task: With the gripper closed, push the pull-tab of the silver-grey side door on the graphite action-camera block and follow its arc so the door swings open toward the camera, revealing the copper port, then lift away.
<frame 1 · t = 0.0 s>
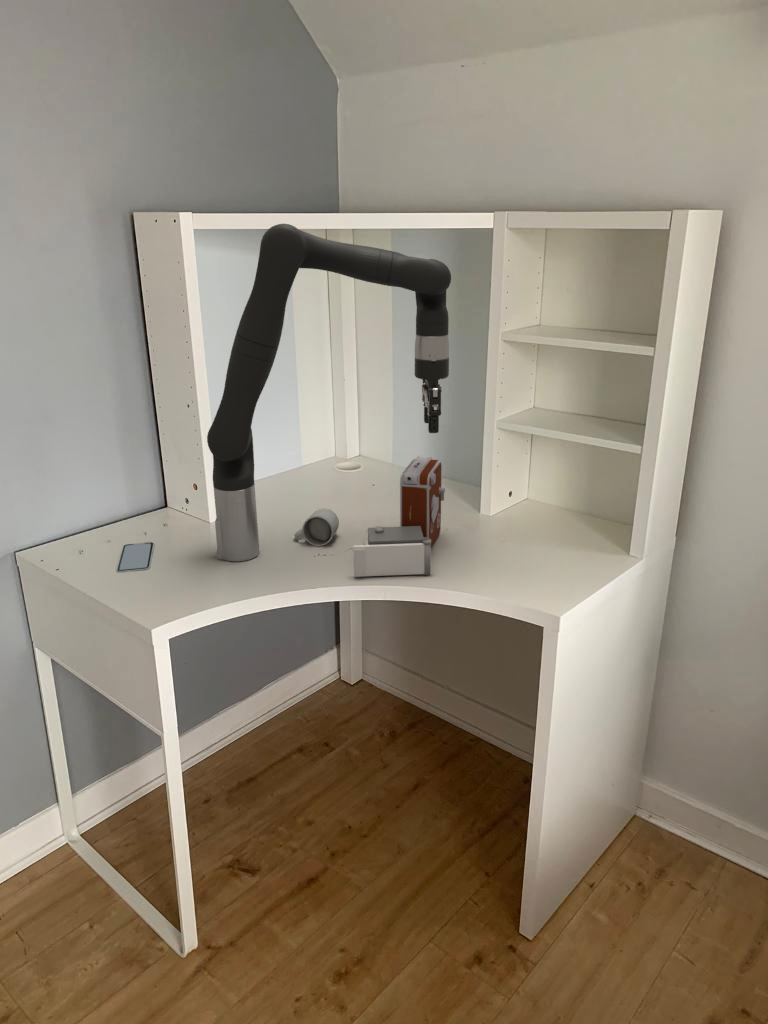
hand: (431, 427, 179), 29 cm above the table, fingers open, 8 cm apart
side door: (392, 559, 173), point 4 cm above the table, hinge at 0.0°
ceramic mug: (316, 541, 194), on the table
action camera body: (395, 566, 179), on the table
smartphone: (136, 560, 185), on the table
cine camera: (423, 540, 194), on the table
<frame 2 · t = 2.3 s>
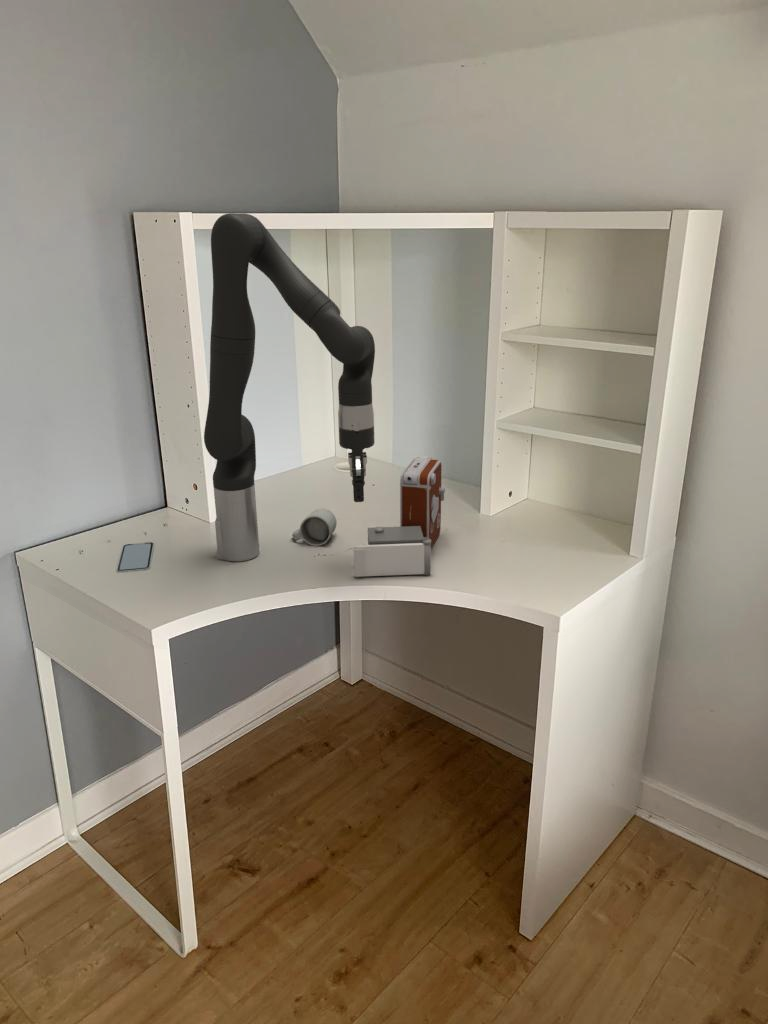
hand: (358, 500, 173), 16 cm above the table, fingers closed
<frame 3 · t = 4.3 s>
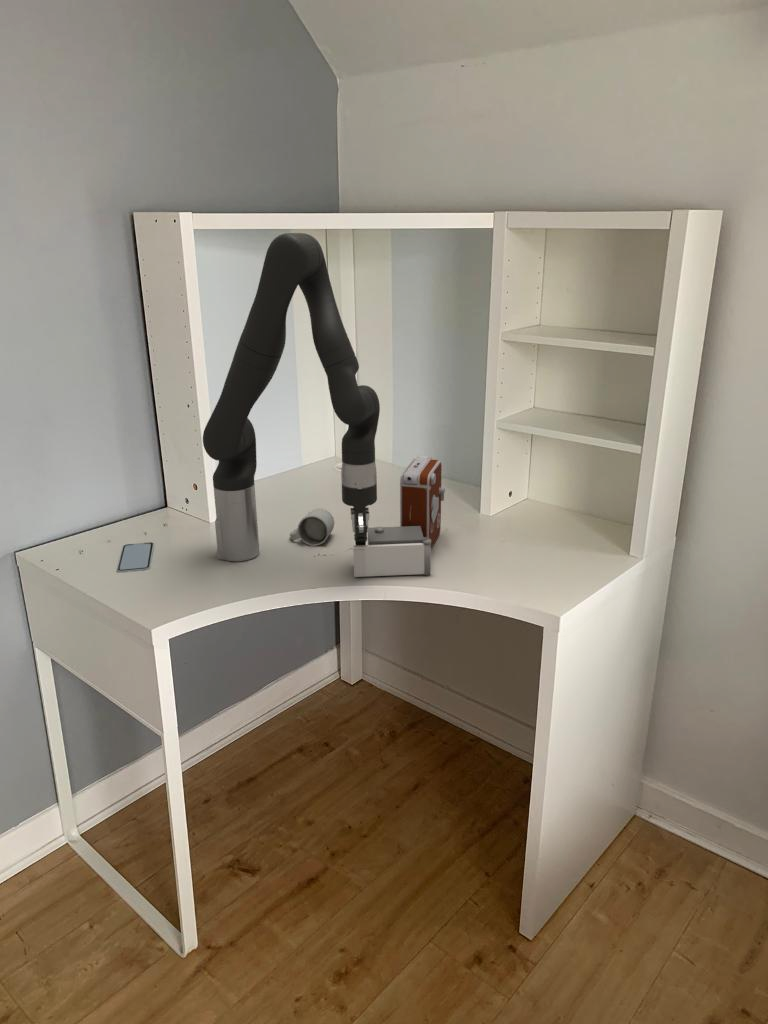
hand: (360, 554, 175), 4 cm above the table, fingers closed
side door: (392, 559, 173), point 4 cm above the table, hinge at 0.4°, touching gripper
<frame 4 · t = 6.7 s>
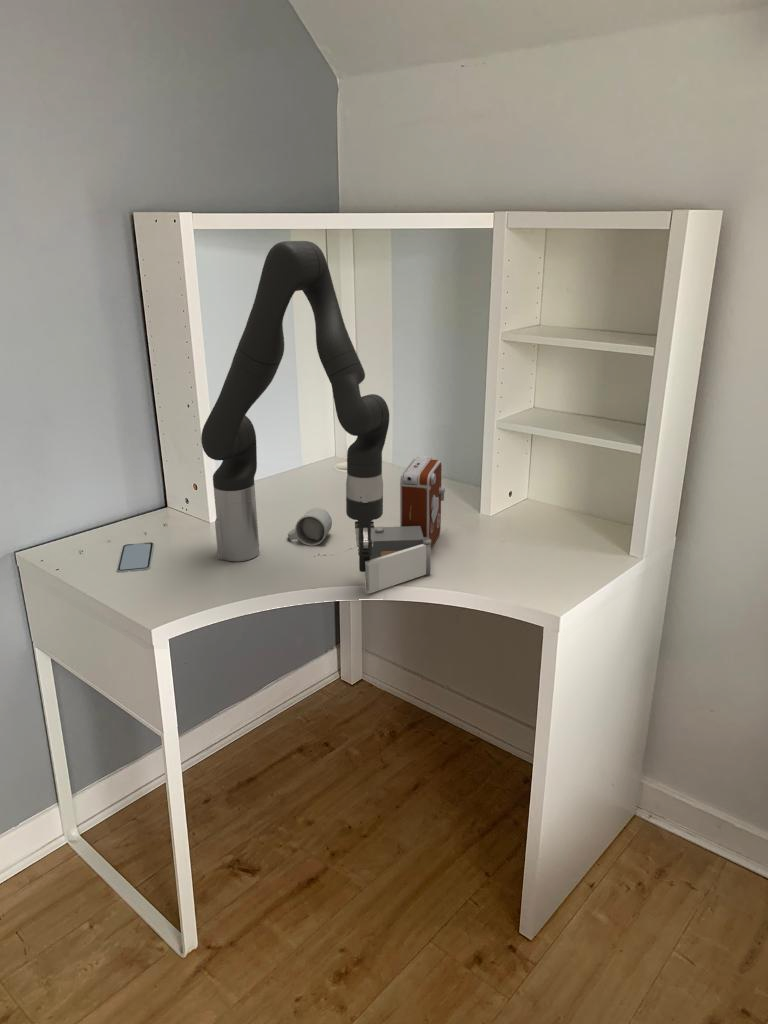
hand: (364, 570, 168), 4 cm above the table, fingers closed
side door: (399, 567, 169), point 4 cm above the table, hinge at 32.5°, touching gripper
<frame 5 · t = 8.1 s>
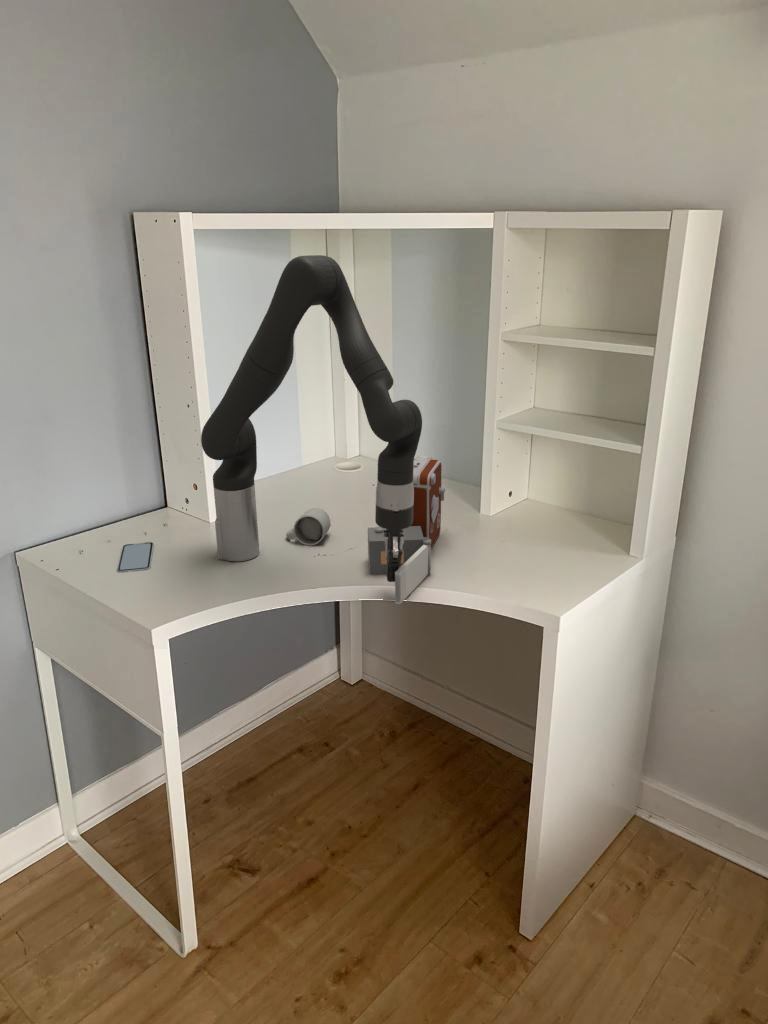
hand: (392, 580, 163), 4 cm above the table, fingers closed
side door: (413, 572, 167), point 4 cm above the table, hinge at 61.8°, touching gripper
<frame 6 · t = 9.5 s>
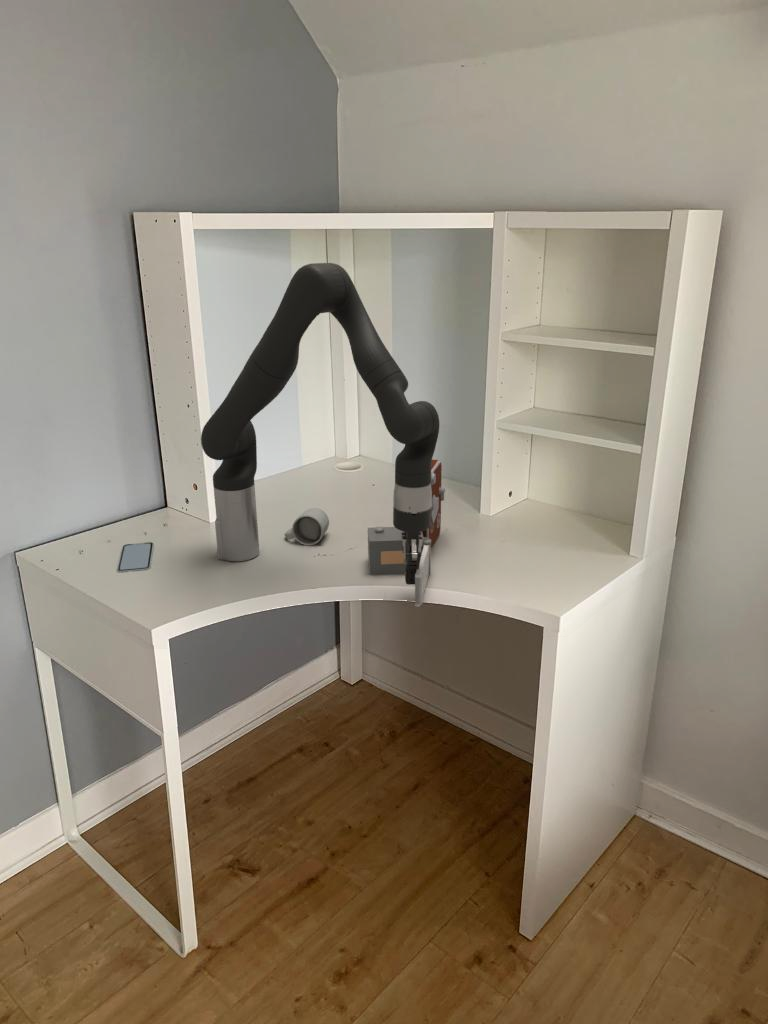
hand: (410, 582, 162), 4 cm above the table, fingers closed
side door: (422, 573, 166), point 4 cm above the table, hinge at 76.7°, touching gripper
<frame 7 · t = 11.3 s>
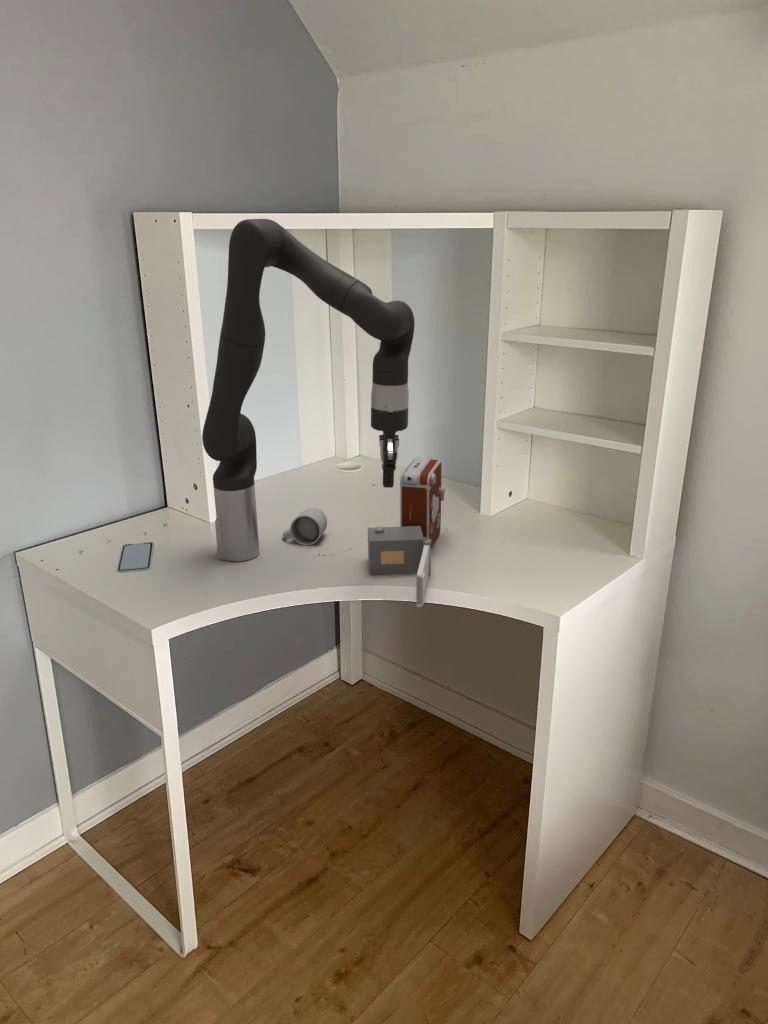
hand: (388, 486, 165), 22 cm above the table, fingers closed
side door: (423, 573, 166), point 4 cm above the table, hinge at 78.0°
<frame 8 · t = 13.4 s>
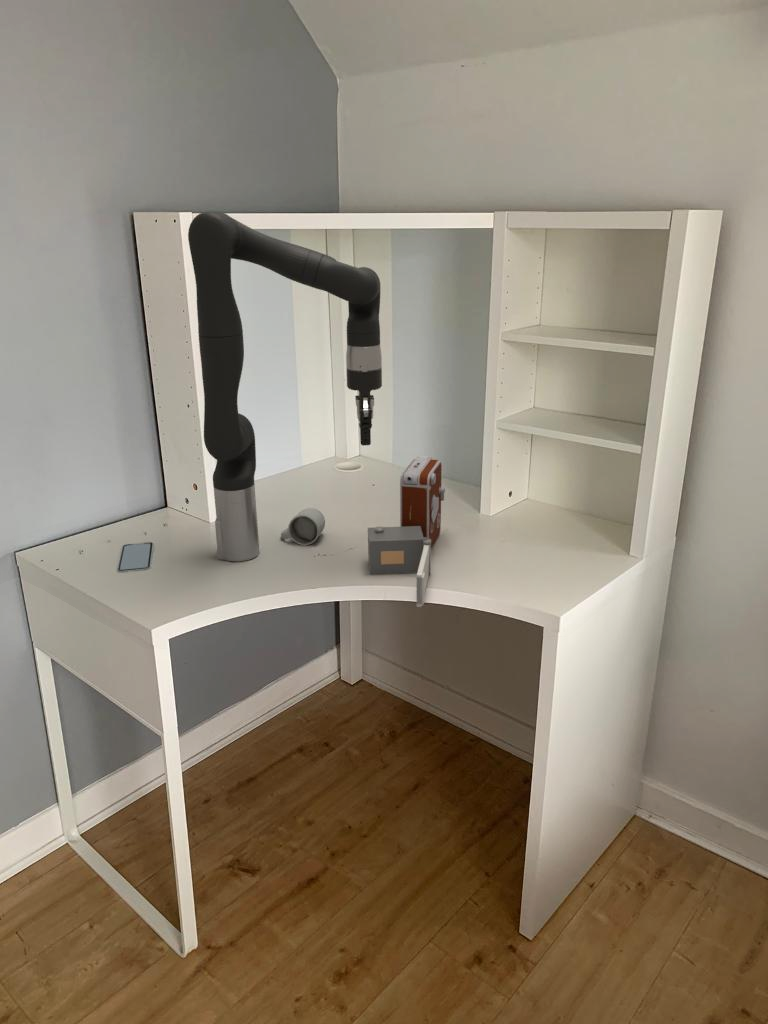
hand: (365, 444, 175), 27 cm above the table, fingers closed
at the end: side door at +78° (first picture: +0°) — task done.
